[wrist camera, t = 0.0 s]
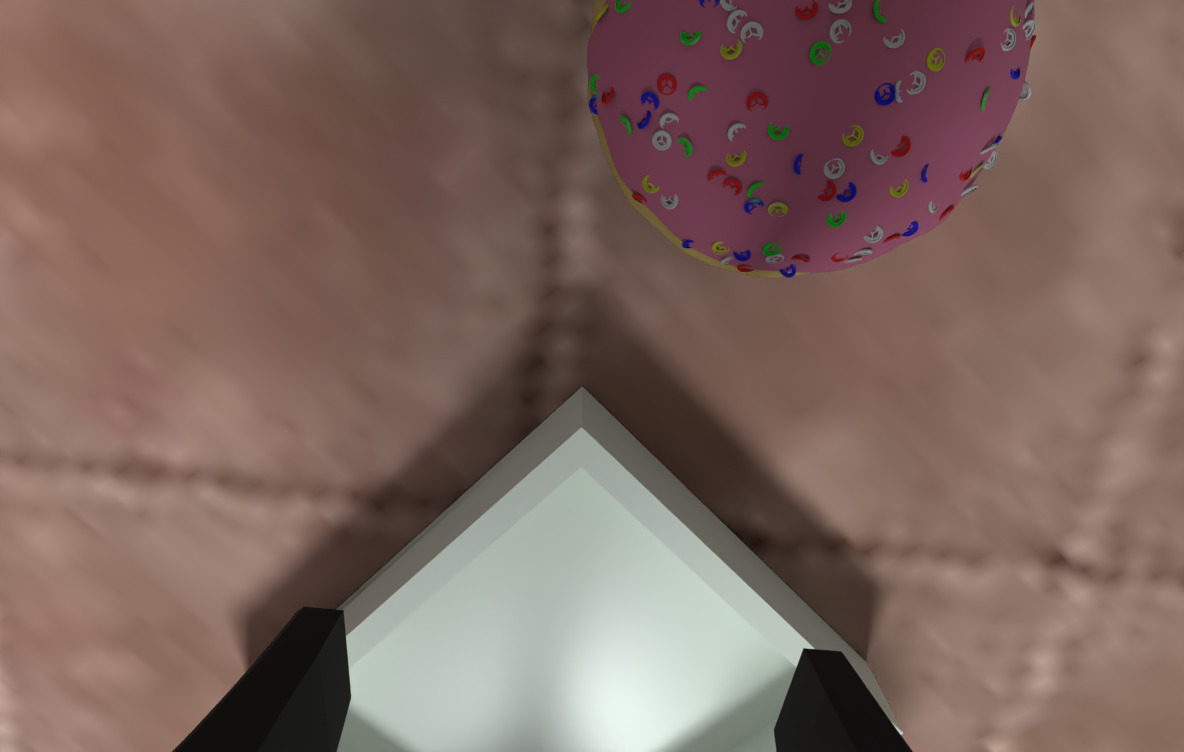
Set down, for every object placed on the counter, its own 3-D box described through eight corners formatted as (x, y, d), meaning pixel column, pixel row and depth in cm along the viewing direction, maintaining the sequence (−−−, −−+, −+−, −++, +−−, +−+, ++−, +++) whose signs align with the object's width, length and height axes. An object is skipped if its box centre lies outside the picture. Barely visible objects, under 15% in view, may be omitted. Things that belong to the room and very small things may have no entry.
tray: (537, 892, 28) (531, 978, 25) (248, 688, 24) (204, 762, 22) (866, 662, 24) (903, 732, 21) (582, 386, 21) (581, 427, 18)
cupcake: (609, -144, 17) (661, -728, 5) (963, -94, 17) (1722, -537, 6) (570, 226, 19) (548, 369, 8) (873, 262, 20) (1260, 445, 8)
